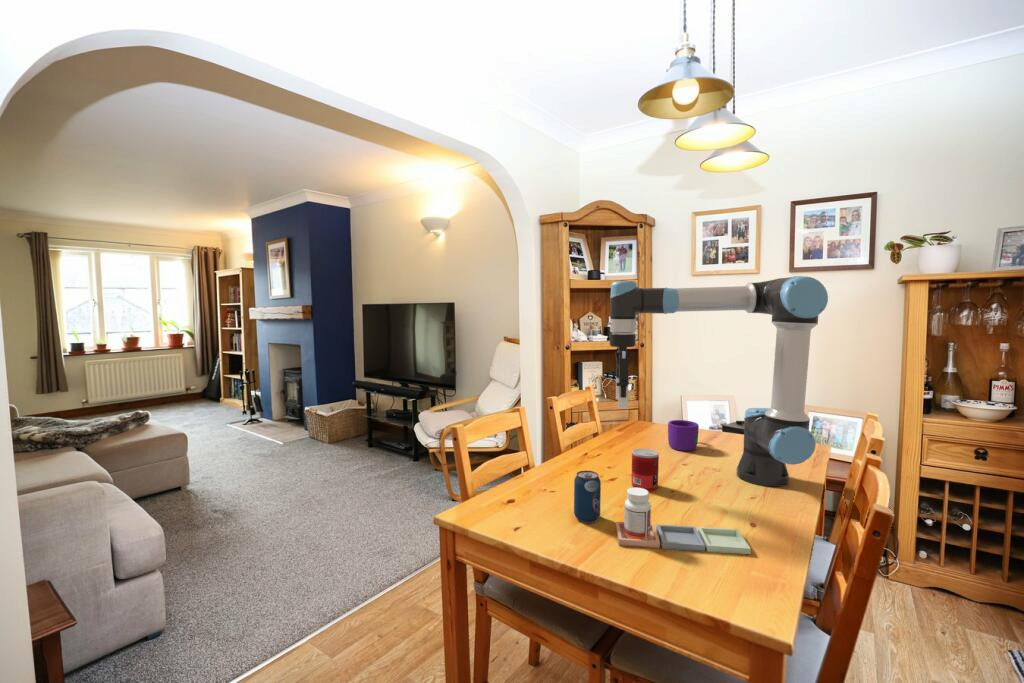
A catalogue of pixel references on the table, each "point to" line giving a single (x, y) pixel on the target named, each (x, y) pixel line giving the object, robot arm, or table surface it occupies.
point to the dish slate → (680, 537)
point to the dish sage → (723, 540)
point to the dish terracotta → (624, 541)
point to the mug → (683, 435)
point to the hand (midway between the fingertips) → (621, 403)
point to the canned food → (645, 469)
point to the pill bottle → (637, 514)
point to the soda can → (587, 496)
